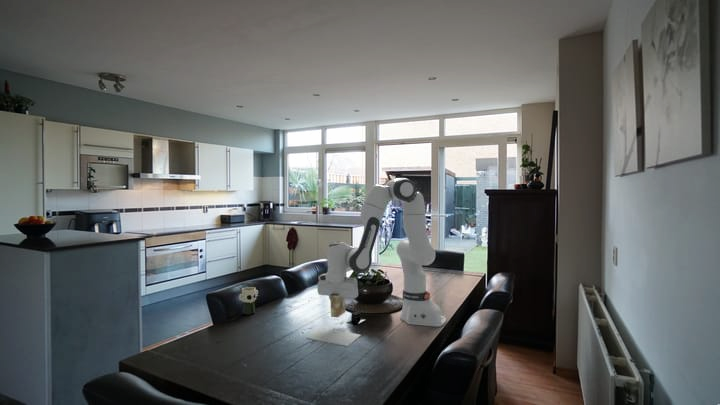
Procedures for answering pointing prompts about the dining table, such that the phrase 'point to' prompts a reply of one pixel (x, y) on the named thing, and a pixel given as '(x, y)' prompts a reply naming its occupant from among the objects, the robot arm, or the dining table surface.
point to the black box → (355, 318)
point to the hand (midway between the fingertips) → (338, 305)
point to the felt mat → (334, 336)
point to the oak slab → (336, 305)
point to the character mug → (248, 299)
